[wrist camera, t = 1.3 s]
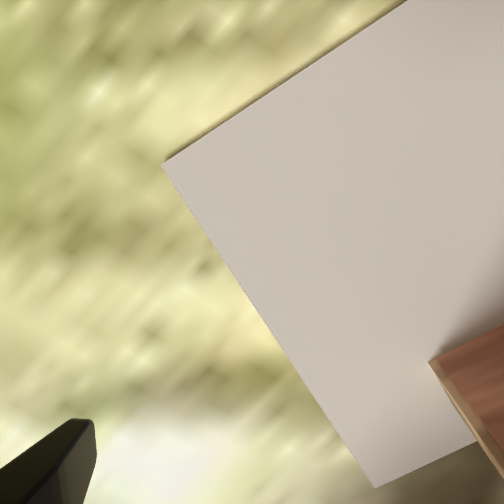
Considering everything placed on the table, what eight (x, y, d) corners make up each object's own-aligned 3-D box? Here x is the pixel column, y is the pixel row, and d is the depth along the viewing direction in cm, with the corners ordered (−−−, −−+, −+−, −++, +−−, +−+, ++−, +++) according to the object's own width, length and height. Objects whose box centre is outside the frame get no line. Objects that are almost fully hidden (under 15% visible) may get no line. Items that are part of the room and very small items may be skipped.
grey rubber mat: (733, 312, 22) (743, 315, 21) (372, 482, 25) (375, 488, 25) (562, -102, 18) (570, -109, 17) (162, 164, 21) (160, 164, 21)
